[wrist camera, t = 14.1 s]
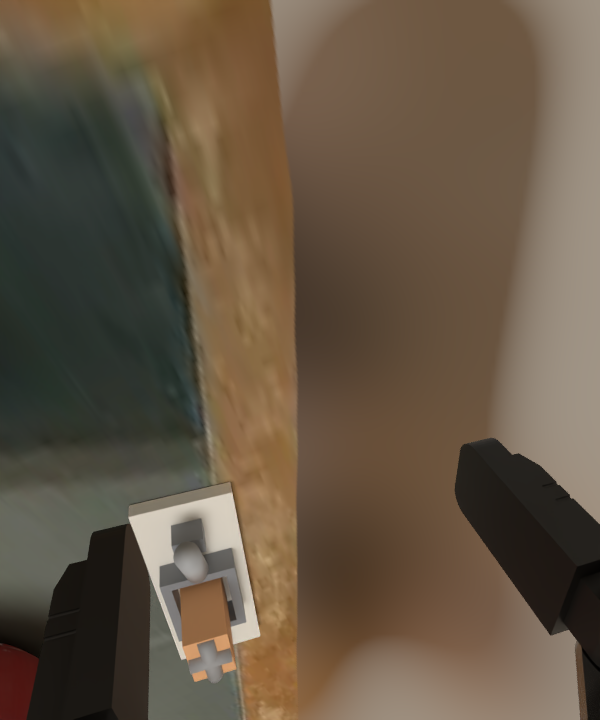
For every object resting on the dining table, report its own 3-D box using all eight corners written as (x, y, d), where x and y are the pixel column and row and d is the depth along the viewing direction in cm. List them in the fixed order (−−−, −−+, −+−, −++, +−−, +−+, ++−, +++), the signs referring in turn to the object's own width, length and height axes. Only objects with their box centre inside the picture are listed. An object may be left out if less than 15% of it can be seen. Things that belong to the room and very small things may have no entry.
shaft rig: (180, 647, 59) (183, 711, 53) (129, 505, 46) (124, 568, 40) (258, 625, 61) (269, 684, 55) (230, 481, 48) (240, 539, 42)
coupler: (179, 572, 50) (182, 655, 43) (218, 562, 51) (228, 642, 44) (190, 607, 53) (195, 690, 46) (226, 597, 54) (237, 677, 47)
